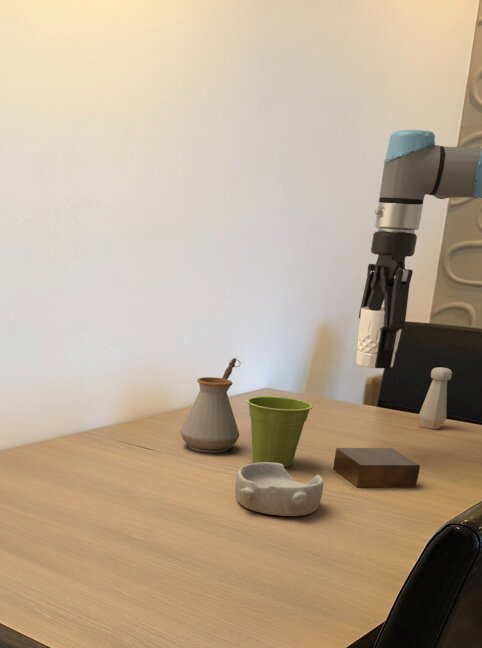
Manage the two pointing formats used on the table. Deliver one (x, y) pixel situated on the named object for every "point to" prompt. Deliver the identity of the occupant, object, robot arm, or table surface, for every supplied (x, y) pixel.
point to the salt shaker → (435, 399)
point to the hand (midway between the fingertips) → (373, 363)
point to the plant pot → (276, 427)
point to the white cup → (371, 337)
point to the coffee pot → (211, 416)
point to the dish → (276, 490)
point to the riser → (376, 467)
